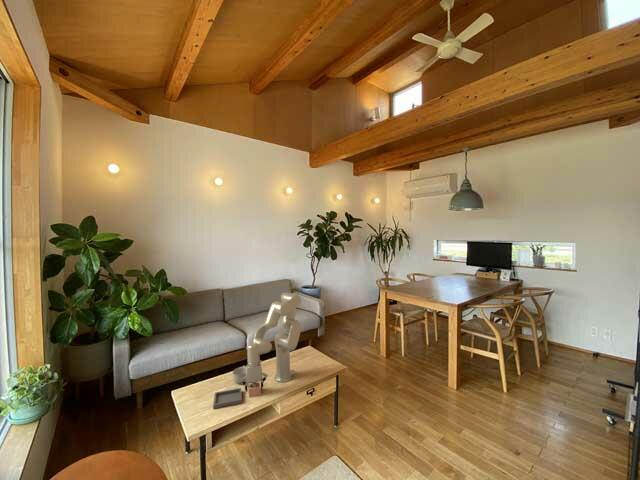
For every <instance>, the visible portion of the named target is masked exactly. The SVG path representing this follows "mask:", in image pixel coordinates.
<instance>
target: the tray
mask: <svg viewBox="0 0 640 480" xmlns="http://www.w3.org/2000/svg"><path fill="white" fill-rule="evenodd" d="M242 396H243V395H242V387H239V388H233V389H229V390H228V389H226V390H221V391H217V392H214V397H213V405H212V406H213V410H218V409H221V408H226V407H231V406H235V405H236V406H237V405H241V404H243V400H242V398H243V397H242Z"/></svg>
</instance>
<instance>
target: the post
mask: <svg viewBox="0 0 640 480" xmlns="http://www.w3.org/2000/svg"><path fill="white" fill-rule="evenodd" d="M257 382H258V381H255V382H251V383H252V388H253V387H257Z"/></svg>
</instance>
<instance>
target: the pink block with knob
mask: <svg viewBox="0 0 640 480" xmlns="http://www.w3.org/2000/svg"><path fill="white" fill-rule="evenodd" d="M256 382H257V387H253V388H252V382H249V383H248V384H247V392H248V398H252V397H257V396H261V382H260V381H256Z"/></svg>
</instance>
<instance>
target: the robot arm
mask: <svg viewBox="0 0 640 480" xmlns="http://www.w3.org/2000/svg"><path fill="white" fill-rule="evenodd" d="M301 303H302V297H301V296H300V295H299V294H297V293H292V292H283V293H281V295H280V301H277V300H275V301H273V302H272V303H271V304H270V306H269V310H268V312H267V315H266V318H265V320H264V323H263V324H262V325H260V327H259V328H258V329H257V331H256V332H255V335H254V338H253V340H252V342H251V343H248V345H247V346H246V347H247V349H246V351H247V355H246V356H247V364H246V365H245V366H246V375H245V376H243V377H242V378H241V379H240V381H241V382H242V384H241V385H243V386H244V390H245V393H247V392H248V383H252V382H260V390H263V388H264V382H265V381H266V380H267V377H268V375H269V374H267V373H265V372H263V371H262V370H263V369H262V363H263V360H261V359H260V355H263V354H267V353H270V352H271V351H272V348H273V345H272V343H271V341H268V340H267V339H264V337H265V335H266V333H267V332H268V331H269V330H271V329H274V328H276V327H277V326H278V323H279V321H280V318H281V316H282V319H281V322H280V329H281V330H282V331H283V332H278V333H277V334H276V335H275V337H274V346H275V355H276V364H275V365H276V374H274V381H276V382H278V383H285V382H289V381H291V379H293V375H295V374H296V375H297V374H298V371H297V370H295V369H291V352H292V351H294V350H295V349H297V346H298V343H299V339H300V335H301V332H302V324H301V322H300V321H299V320H296V315H297V308H298V307H299V306H300V304H301ZM284 332H285V333H284ZM245 378H246V381H245V382H244V381H243V380H244V379H245Z"/></svg>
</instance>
